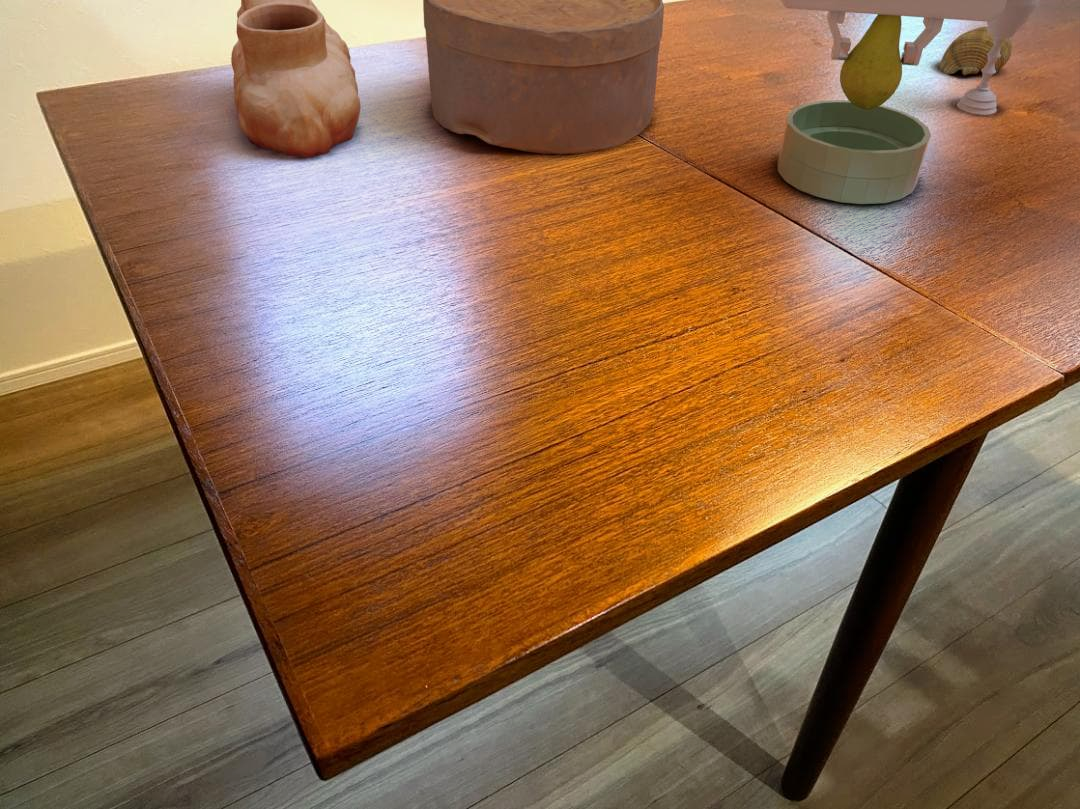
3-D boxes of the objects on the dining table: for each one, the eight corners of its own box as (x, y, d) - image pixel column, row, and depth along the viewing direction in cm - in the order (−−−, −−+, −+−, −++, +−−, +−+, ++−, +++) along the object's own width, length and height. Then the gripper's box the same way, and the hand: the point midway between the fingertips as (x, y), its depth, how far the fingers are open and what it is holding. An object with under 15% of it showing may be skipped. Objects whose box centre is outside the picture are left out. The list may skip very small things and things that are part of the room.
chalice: (956, 95, 115) (1003, -57, 104) (1011, 107, 112) (1066, -49, 101) (940, 112, 110) (987, -46, 99) (996, 125, 107) (1052, -37, 96)
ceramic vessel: (343, 78, 117) (327, -46, 107) (376, 156, 97) (361, 13, 88) (234, 88, 113) (209, -40, 104) (246, 170, 94) (216, 23, 85)
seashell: (951, 108, 123) (1000, 75, 116) (920, 68, 122) (967, 32, 115) (981, 78, 127) (1030, 44, 120) (951, 39, 127) (998, 3, 120)
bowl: (904, 158, 99) (919, 105, 95) (922, 215, 88) (940, 158, 84) (775, 147, 101) (785, 95, 97) (777, 202, 90) (789, 145, 86)
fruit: (823, 107, 89) (852, -22, 82) (849, 92, 93) (879, -32, 85) (876, 122, 86) (911, -10, 79) (902, 106, 90) (938, -21, 82)
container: (475, 175, 93) (472, 25, 84) (398, 96, 113) (389, -32, 104) (699, 142, 103) (718, 4, 94) (592, 75, 122) (599, -44, 113)
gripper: (1028, -99, 79) (978, 59, 88) (795, -111, 82) (768, 44, 90) (1046, -86, 74) (990, 80, 83) (797, -99, 77) (769, 63, 86)
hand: (873, 61), depth 87 cm, fingers closed on fruit, 5 cm apart
